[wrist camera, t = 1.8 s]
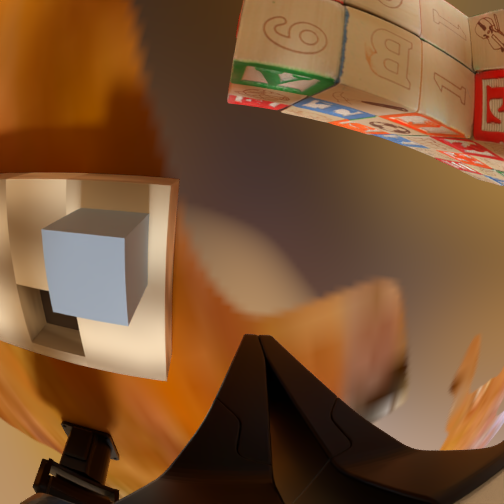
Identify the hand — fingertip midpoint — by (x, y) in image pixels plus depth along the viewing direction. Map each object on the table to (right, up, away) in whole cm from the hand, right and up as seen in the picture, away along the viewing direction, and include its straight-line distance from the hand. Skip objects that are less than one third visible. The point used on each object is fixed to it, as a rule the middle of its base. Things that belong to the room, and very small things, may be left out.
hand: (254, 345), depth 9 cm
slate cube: (-7, +3, +5) cm, 10 cm away
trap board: (-20, +3, +7) cm, 22 cm away
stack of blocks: (+9, +13, +7) cm, 18 cm away
